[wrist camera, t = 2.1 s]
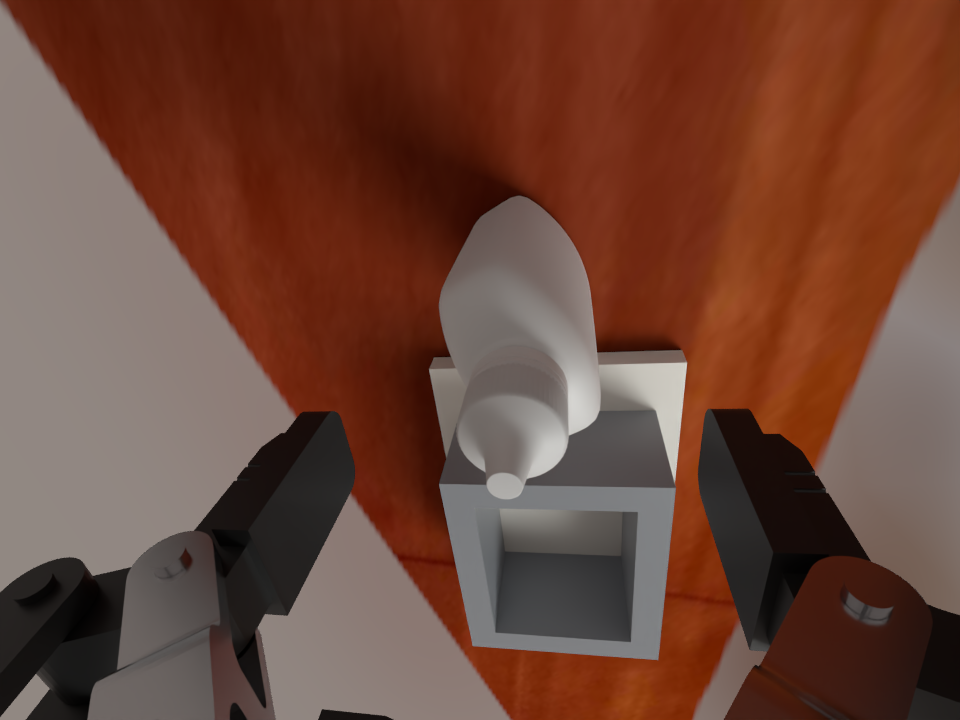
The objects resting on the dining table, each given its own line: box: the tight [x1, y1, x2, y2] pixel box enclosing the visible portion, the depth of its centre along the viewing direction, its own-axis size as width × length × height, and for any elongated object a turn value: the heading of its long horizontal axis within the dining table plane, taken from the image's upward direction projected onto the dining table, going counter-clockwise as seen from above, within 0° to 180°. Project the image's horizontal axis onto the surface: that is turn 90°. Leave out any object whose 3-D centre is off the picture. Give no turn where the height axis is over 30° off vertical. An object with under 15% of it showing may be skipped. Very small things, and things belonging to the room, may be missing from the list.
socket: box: [429, 350, 687, 660], centre depth 23 cm, size 15×10×6 cm
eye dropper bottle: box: [439, 196, 601, 499], centre depth 15 cm, size 4×6×12 cm
